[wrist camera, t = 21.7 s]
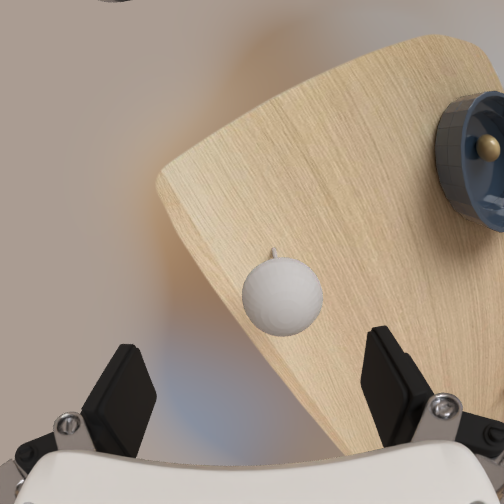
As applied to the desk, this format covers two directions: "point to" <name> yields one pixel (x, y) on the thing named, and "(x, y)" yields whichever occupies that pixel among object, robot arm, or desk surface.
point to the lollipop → (282, 296)
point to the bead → (488, 148)
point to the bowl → (472, 158)
